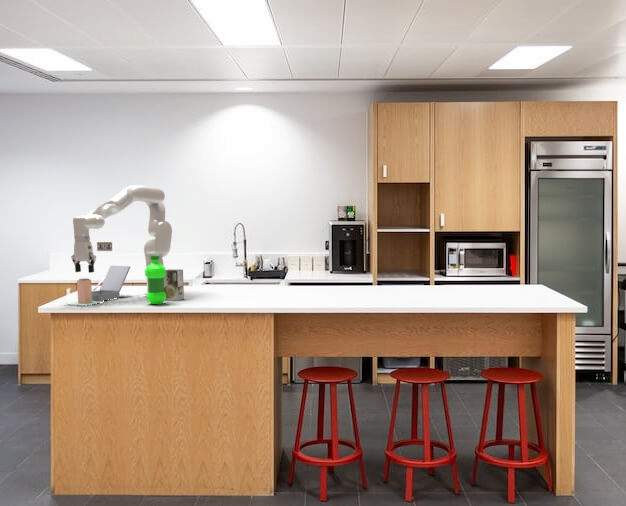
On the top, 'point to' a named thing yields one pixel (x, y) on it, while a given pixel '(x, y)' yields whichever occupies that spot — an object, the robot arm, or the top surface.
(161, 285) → the plastic bottle
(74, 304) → the mat
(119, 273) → the case
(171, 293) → the coffee box
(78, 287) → the block
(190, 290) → the top surface
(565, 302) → the top surface
